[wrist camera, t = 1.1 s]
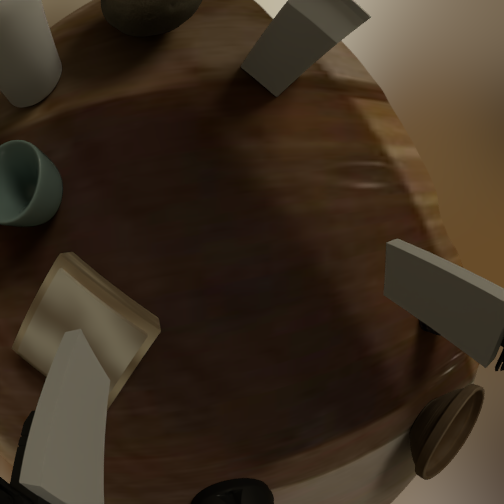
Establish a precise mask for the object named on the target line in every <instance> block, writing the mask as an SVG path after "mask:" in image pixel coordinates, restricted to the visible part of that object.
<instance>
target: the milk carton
mask: <svg viewBox="0 0 504 504" xmlns="http://www.w3.org/2000/svg"><path fill="white" fill-rule="evenodd" d="M369 18H371V16H370V15H369V14H368V13H366V12H365V11H364V10H363V9H362V8H361V7H360V6H359V5H358V4H357V3H356V2H354V1H353V0H288V1H287V2H286V4H285V5H284V6H283V7H282V9H281V10H280V11H279V13H278V14H277V15H276V17H275V18H274V19H273V21H272V22H271V23H270V25H269V26H268V27H267V29H266V30H265V31H264V33H263V34H262V36H261V37H260V38H259V40H258V41H257V43H256V44H255V46H254V47H253V48H252V50H251V51H250V53H249V54H248V56H247V57H246V59H245V60H244V62H243V63H242V65H241V68H242V69H244V70H245V71H246V72H247V73H248V74H250V75H251V76H252V77H253V78H255V79H256V80H257V81H258V82H259V83H261V84H262V85H263V86H264V87H265V88H266V89H268V90H269V91H270V92H271V93H272V94H273V95H274V96H276V97H278V96H279V95H280V94H281V93H282V92H283V91H284V90H285V89H286V88H287V87H288V86H289V85H290V84H291V83H293V82H294V81H295V80H296V79H297V78H298V77H299V76H300V75H301V74H302V73H304V72H305V71H306V70H307V69H308V68H309V67H310V66H311V65H313V64H314V63H315V62H316V61H317V60H318V59H319V58H321V57H322V56H323V55H324V54H325V53H326V52H328V51H329V50H330V49H331V48H332V47H334V46H335V45H336V44H337V43H339V42H340V41H341V40H342V39H343V38H345V37H346V36H347V35H349V34H350V33H351V32H352V31H354V30H355V29H356V28H357V27H359V26H360V25H361V24H362V23H364V22H365V21H367V20H368V19H369Z"/></svg>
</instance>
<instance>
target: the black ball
mask: <svg viewBox="0 0 504 504" xmlns="http://www.w3.org/2000/svg"><path fill="white" fill-rule="evenodd" d="M201 2H202V0H101V8H102V12H103V15H104V17H105V19H106V21H107V22H108V23H109V24H111V25H112V26H113V27H115V28H117V29H118V30H120V31H121V32H122V33H124V34H127V35H130V36H136V37H146V36H152V35H158V34H162V33H166V32H169V31H171V30H174V29H176V28H177V27H179V26H180V25H181V24H182V23H184V22H185V21H186V20H188V19H189V18H190V17H191V16H192V15H193V14H194V13H195V12H196V10H197V9H198V7H199V5H200V3H201Z"/></svg>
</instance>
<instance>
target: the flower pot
mask: <svg viewBox="0 0 504 504" xmlns="http://www.w3.org/2000/svg"><path fill="white" fill-rule="evenodd" d="M483 400H484V389H483V387H480V386H478V385H474V384H470V385H468V386H466V387H465V388H463V389H457V390H455V391H452V392H449V393H447V394H445V395H443V396H441V397H439V398H436V399H434V400H432V401H431V402H429V403H428V404H427V405H426V406H425V407H424V409H423V410H422V411H421V412H420V414H419V416H418V417H417V419H416V420H415V422H414V424H413V427H412V429H411V432H410V443H411V452H412V457H413V461H414V463H415V472H416V474H417V475H419V476H420V477H421V478H423V479H425V480H428V479H431V478H433V477H434V476H436V475H437V474H438V473H440V472H441V471H442V470H443V469H444V468H445V467H446V466H447V465H448V464H449V463H450V462H451V460H452V459H453V458H454V457H455V455H456V454H457V453H458V451H459V450H460V449H461V447H462V446H463V444H464V443H465V441H466V439H467V438H468V436H469V434H470V433H471V431H472V429H473V427H474V425H475V423H476V421H477V418H478V416H479V413H480V411H481V408H482V404H483Z"/></svg>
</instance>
